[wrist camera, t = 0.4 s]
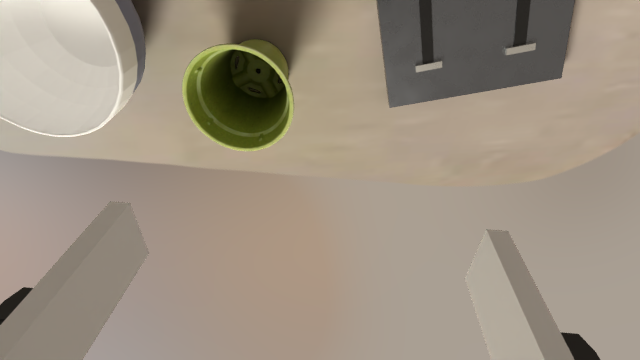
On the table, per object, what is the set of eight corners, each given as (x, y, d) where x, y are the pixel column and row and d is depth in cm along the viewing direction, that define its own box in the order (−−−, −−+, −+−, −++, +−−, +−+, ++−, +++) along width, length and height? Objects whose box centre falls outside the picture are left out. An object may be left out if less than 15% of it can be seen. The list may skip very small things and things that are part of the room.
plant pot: (316, 38, 34) (306, 66, 27) (293, 122, 39) (280, 163, 32) (221, 7, 33) (185, 27, 26) (211, 97, 38) (179, 134, 31)
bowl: (22, -130, 28) (-105, -154, 20) (199, 4, 33) (152, 27, 25) (-5, 34, 36) (-104, 62, 28) (141, 123, 41) (91, 168, 33)
